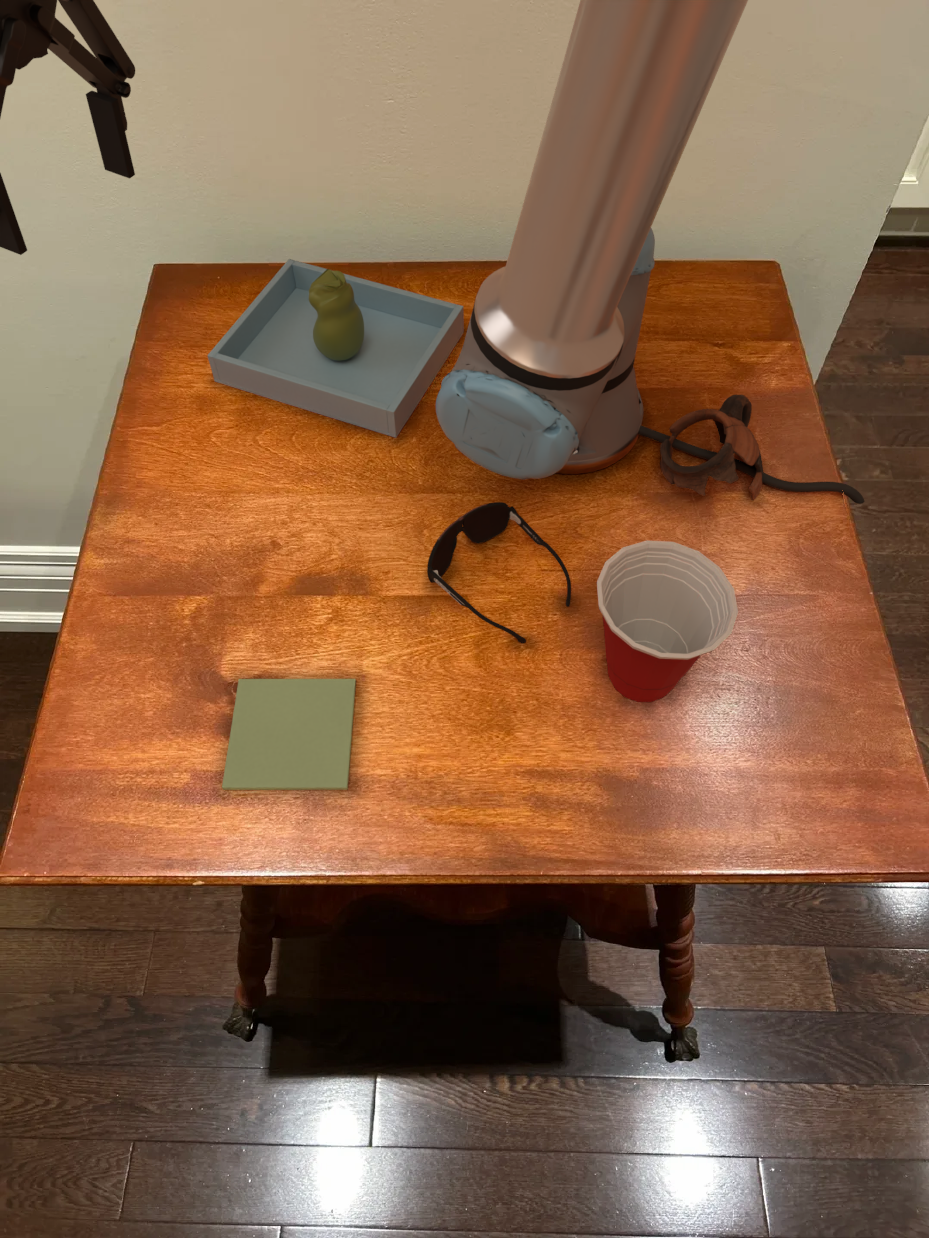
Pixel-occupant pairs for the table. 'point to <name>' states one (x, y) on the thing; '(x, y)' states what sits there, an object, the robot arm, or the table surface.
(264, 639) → the table surface
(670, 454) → the brown piece
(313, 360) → the tray
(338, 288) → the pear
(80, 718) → the table surface
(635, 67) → the robot arm
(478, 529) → the sunglasses
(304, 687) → the coaster
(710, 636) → the plastic cup
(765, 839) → the table surface
